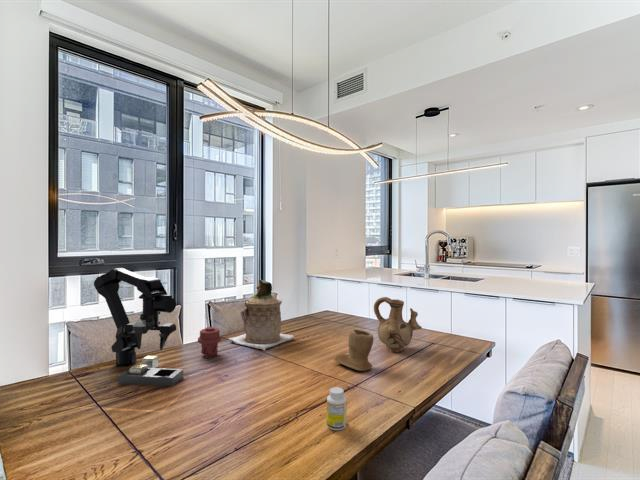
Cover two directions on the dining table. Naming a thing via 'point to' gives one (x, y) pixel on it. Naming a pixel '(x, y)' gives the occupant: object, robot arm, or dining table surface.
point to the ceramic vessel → (395, 325)
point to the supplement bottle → (336, 409)
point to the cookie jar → (262, 320)
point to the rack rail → (152, 377)
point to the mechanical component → (209, 341)
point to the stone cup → (357, 351)
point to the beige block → (138, 369)
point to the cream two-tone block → (150, 361)
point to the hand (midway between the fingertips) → (150, 349)
